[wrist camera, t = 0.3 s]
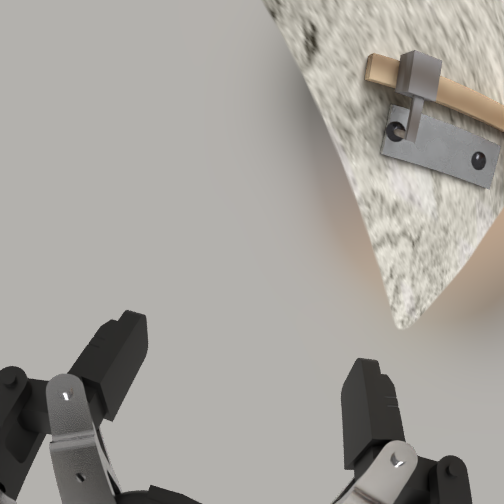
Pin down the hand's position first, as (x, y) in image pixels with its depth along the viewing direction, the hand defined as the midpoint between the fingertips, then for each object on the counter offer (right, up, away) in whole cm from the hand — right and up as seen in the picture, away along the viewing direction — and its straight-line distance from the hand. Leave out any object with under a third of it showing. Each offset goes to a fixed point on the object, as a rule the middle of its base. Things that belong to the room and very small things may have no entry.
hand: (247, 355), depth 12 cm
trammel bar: (+24, +20, +19) cm, 37 cm away
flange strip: (+23, +16, +21) cm, 35 cm away
